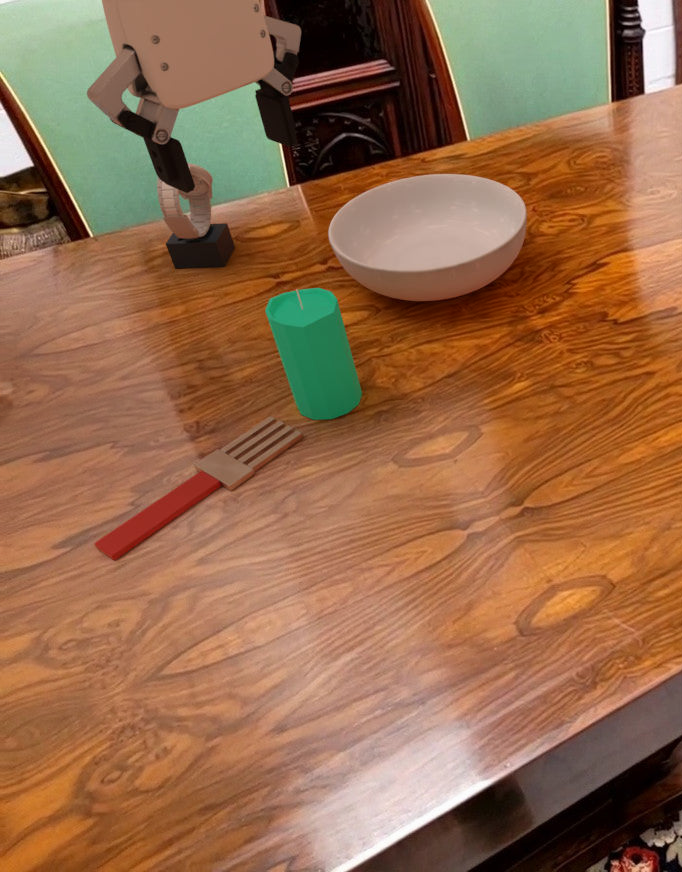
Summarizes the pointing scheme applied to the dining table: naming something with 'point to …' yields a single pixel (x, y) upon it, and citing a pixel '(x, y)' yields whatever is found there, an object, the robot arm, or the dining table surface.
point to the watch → (194, 225)
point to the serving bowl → (429, 235)
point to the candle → (315, 352)
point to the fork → (205, 482)
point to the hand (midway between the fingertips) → (233, 163)
